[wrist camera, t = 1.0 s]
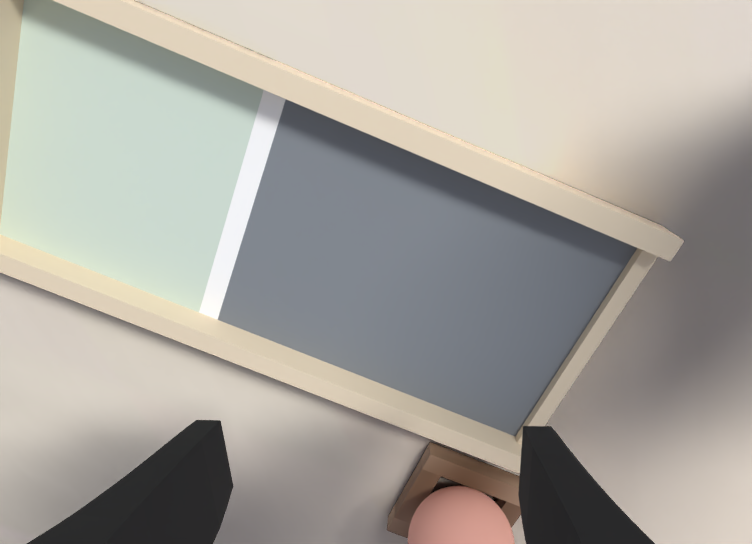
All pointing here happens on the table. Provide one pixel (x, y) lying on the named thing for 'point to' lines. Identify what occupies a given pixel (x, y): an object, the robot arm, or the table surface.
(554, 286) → the tray
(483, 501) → the ball
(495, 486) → the open wooden square ring
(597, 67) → the table surface
